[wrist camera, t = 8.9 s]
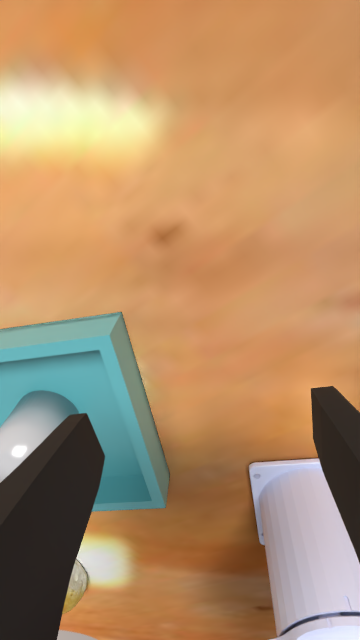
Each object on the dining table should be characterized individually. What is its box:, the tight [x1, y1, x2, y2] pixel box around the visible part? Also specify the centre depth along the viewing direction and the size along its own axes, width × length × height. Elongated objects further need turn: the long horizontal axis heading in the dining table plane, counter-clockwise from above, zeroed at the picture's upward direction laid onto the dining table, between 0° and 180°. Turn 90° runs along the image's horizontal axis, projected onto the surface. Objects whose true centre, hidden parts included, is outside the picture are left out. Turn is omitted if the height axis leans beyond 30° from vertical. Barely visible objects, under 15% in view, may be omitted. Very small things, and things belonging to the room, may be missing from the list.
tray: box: [0, 312, 170, 511], centre depth 23 cm, size 14×14×3 cm
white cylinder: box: [0, 390, 79, 483], centre depth 21 cm, size 4×4×5 cm
